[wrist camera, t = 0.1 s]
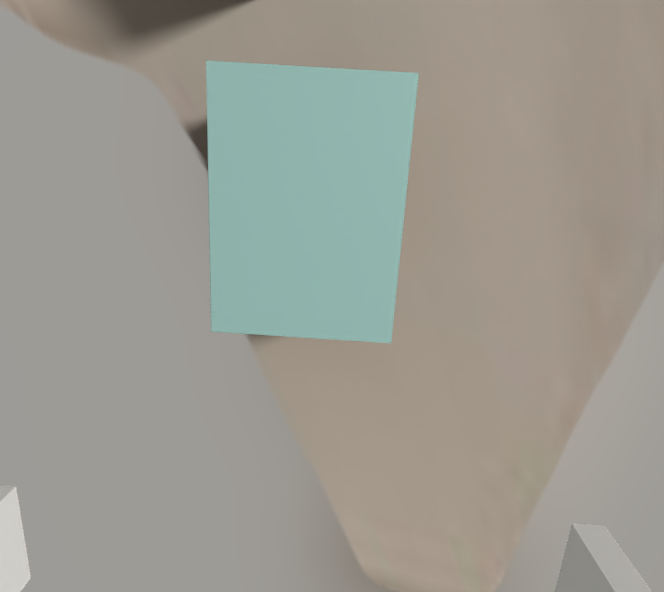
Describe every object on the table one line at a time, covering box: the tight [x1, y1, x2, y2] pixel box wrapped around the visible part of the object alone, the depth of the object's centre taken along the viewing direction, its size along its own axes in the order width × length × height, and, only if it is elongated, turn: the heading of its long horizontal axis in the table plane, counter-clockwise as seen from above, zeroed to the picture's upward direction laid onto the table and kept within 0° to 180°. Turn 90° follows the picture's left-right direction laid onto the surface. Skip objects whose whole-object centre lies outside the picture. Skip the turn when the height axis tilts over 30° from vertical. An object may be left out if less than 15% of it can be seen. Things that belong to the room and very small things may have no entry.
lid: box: [206, 61, 419, 343], centre depth 28 cm, size 15×11×4 cm
